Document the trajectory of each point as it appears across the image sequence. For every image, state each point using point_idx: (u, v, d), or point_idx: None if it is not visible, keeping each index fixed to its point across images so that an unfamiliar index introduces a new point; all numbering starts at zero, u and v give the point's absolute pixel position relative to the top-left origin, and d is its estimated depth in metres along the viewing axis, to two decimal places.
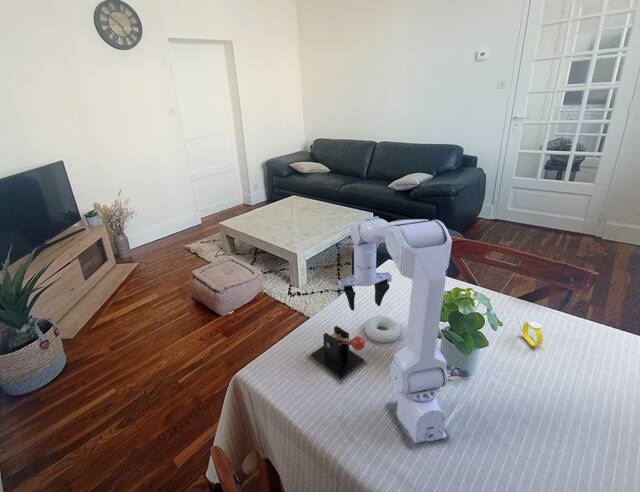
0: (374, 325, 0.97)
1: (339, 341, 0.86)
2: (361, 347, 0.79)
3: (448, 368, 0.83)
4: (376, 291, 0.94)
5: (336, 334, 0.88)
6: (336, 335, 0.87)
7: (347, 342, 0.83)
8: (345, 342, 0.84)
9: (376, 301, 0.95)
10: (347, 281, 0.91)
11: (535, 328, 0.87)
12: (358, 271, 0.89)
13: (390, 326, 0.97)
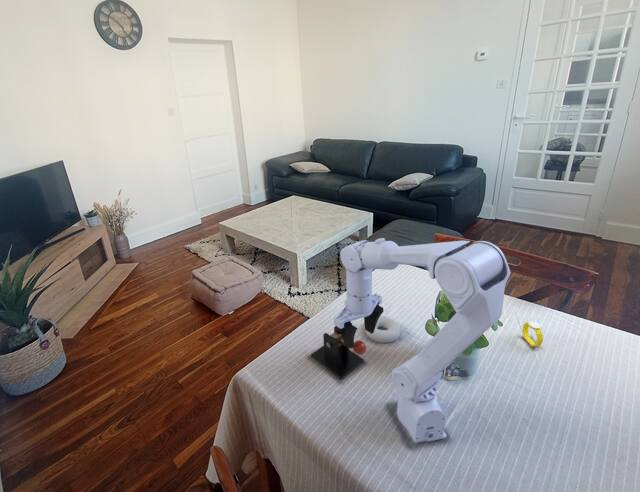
0: None
1: (339, 342, 0.86)
2: (362, 352, 0.80)
3: (448, 368, 0.83)
4: (367, 317, 0.84)
5: (336, 334, 0.87)
6: (337, 335, 0.87)
7: None
8: None
9: (368, 328, 0.84)
10: (345, 316, 0.76)
11: (535, 328, 0.87)
12: (357, 301, 0.76)
13: (390, 326, 0.97)
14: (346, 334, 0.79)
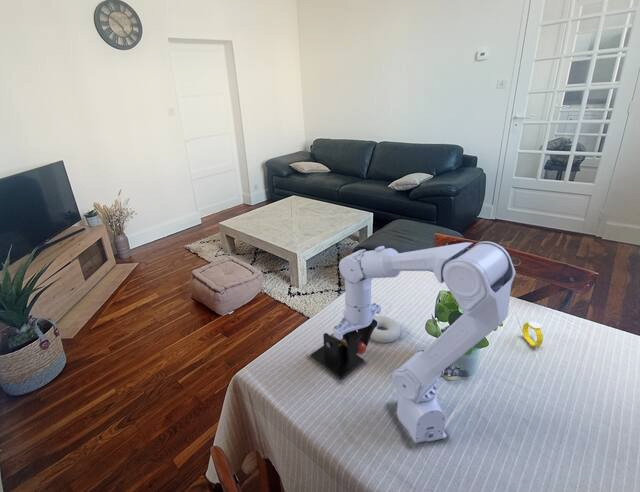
0: None
1: (339, 342, 0.86)
2: (362, 352, 0.80)
3: (448, 368, 0.83)
4: (360, 330, 0.81)
5: None
6: None
7: None
8: (346, 344, 0.84)
9: None
10: (344, 327, 0.75)
11: (535, 328, 0.87)
12: (356, 312, 0.74)
13: (390, 326, 0.97)
14: (350, 341, 0.79)
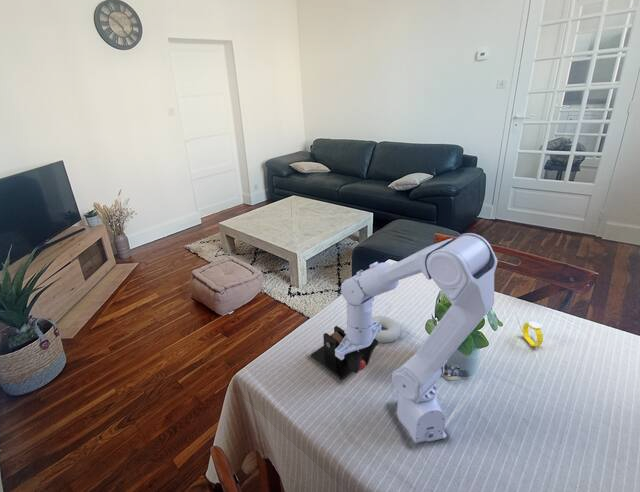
0: None
1: None
2: None
3: (448, 368, 0.83)
4: (361, 349, 0.83)
5: (339, 336, 0.87)
6: (339, 338, 0.86)
7: None
8: None
9: None
10: (345, 347, 0.77)
11: (535, 328, 0.87)
12: (357, 333, 0.76)
13: (390, 326, 0.97)
14: (352, 359, 0.81)
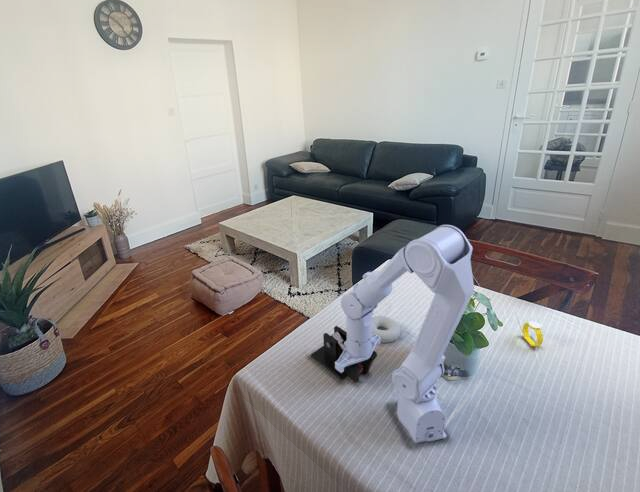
0: (374, 325, 0.97)
1: (339, 346, 0.86)
2: None
3: (448, 368, 0.83)
4: (360, 361, 0.85)
5: (339, 337, 0.87)
6: (339, 339, 0.86)
7: None
8: None
9: None
10: (345, 360, 0.79)
11: (535, 328, 0.87)
12: (357, 346, 0.78)
13: (390, 326, 0.97)
14: (351, 371, 0.82)
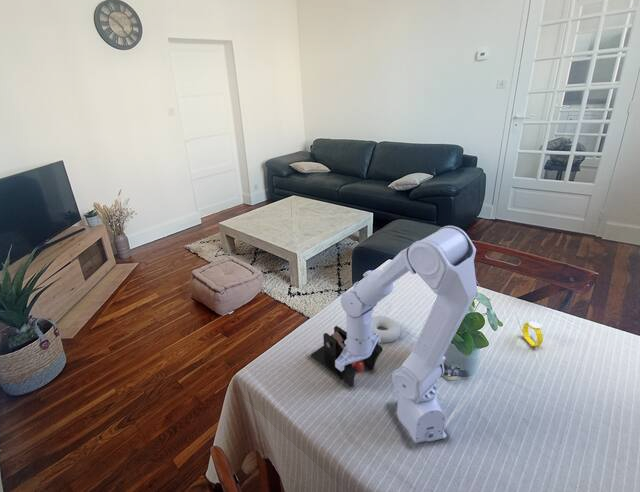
0: (374, 325, 0.97)
1: (339, 346, 0.86)
2: (358, 372, 0.83)
3: (448, 368, 0.83)
4: None
5: (339, 337, 0.87)
6: (339, 339, 0.86)
7: None
8: None
9: (367, 366, 0.86)
10: (345, 359, 0.78)
11: (535, 328, 0.87)
12: (357, 344, 0.77)
13: (390, 326, 0.97)
14: (346, 374, 0.81)
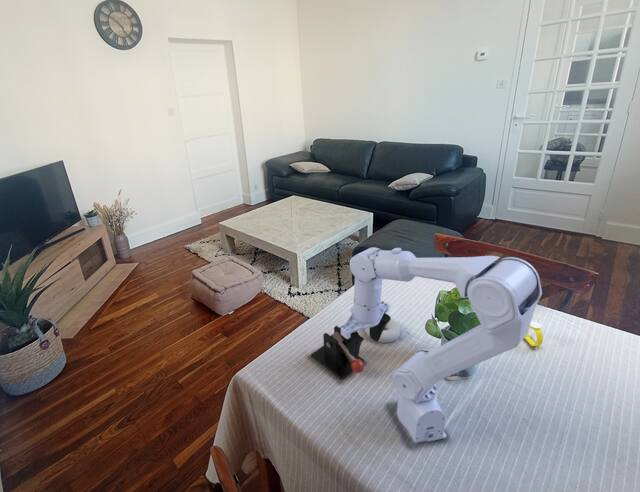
0: None
1: (339, 346, 0.86)
2: (358, 372, 0.83)
3: None
4: None
5: (339, 337, 0.87)
6: (339, 339, 0.86)
7: (347, 356, 0.85)
8: (346, 354, 0.85)
9: (373, 336, 0.81)
10: (351, 326, 0.73)
11: (535, 328, 0.87)
12: (365, 311, 0.72)
13: (390, 326, 0.97)
14: (351, 343, 0.76)
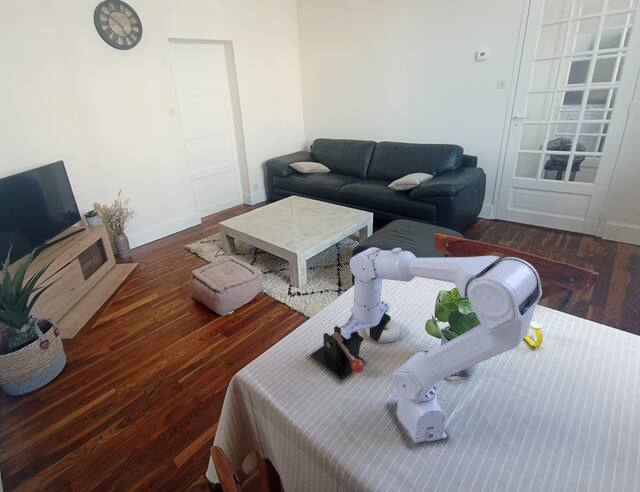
0: None
1: (339, 346, 0.86)
2: (358, 372, 0.83)
3: None
4: None
5: (339, 337, 0.87)
6: (339, 339, 0.86)
7: (347, 356, 0.85)
8: (346, 354, 0.85)
9: (373, 336, 0.81)
10: (351, 326, 0.73)
11: (535, 328, 0.87)
12: (365, 311, 0.72)
13: (390, 326, 0.97)
14: (351, 343, 0.76)
